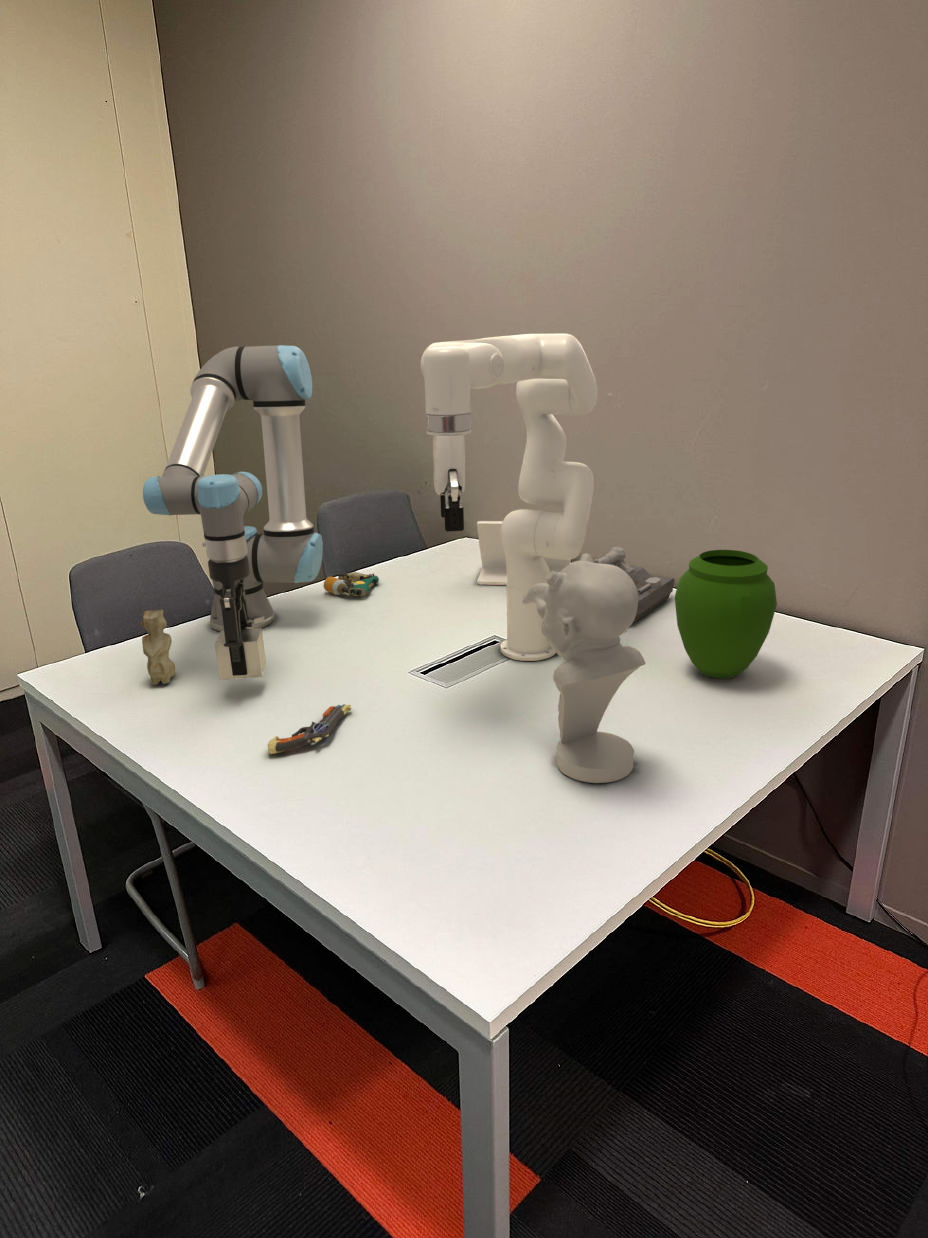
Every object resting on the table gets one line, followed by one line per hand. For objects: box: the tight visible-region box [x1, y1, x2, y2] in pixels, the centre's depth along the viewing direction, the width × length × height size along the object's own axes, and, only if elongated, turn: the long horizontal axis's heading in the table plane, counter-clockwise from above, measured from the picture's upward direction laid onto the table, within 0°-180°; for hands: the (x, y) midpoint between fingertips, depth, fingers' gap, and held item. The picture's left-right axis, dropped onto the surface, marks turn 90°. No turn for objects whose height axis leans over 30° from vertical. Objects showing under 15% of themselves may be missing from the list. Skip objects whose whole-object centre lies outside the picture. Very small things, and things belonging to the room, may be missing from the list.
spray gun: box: [323, 571, 380, 597], centre depth 231 cm, size 4×17×15 cm
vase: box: [674, 549, 778, 680], centre depth 171 cm, size 20×20×24 cm
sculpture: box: [141, 608, 177, 685], centre depth 176 cm, size 6×7×15 cm
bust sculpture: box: [522, 553, 646, 784], centre depth 140 cm, size 16×24×35 cm, turn 28°
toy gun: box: [267, 703, 352, 755], centre depth 155 cm, size 3×19×10 cm
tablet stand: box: [476, 520, 572, 586], centre depth 236 cm, size 18×25×17 cm
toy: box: [593, 546, 676, 624], centre depth 212 cm, size 25×20×15 cm
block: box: [214, 628, 267, 681], centre depth 170 cm, size 7×8×8 cm
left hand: (242, 666), depth 171 cm, fingers closed on block, 7 cm apart
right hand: (452, 523), depth 149 cm, fingers open, 9 cm apart
